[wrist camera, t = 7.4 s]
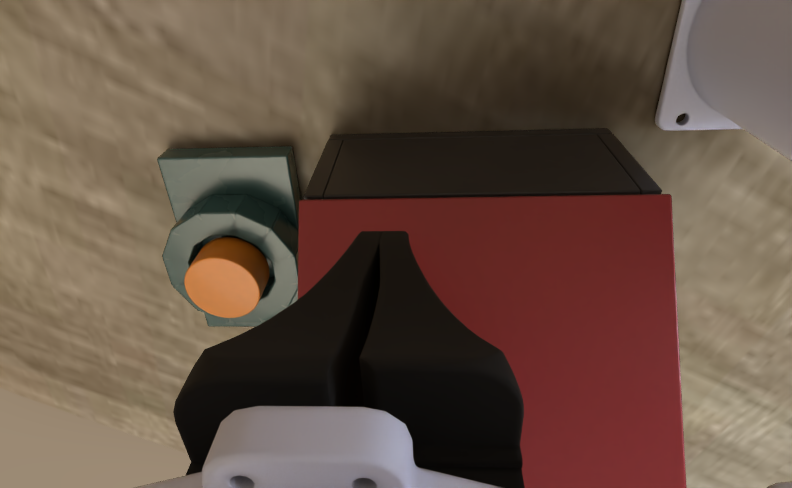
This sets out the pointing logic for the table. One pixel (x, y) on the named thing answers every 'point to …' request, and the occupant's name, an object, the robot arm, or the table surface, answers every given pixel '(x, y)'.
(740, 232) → the table surface
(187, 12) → the table surface
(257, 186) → the control block
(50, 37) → the table surface
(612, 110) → the table surface
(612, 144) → the dark open storage box
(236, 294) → the button
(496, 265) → the lid
